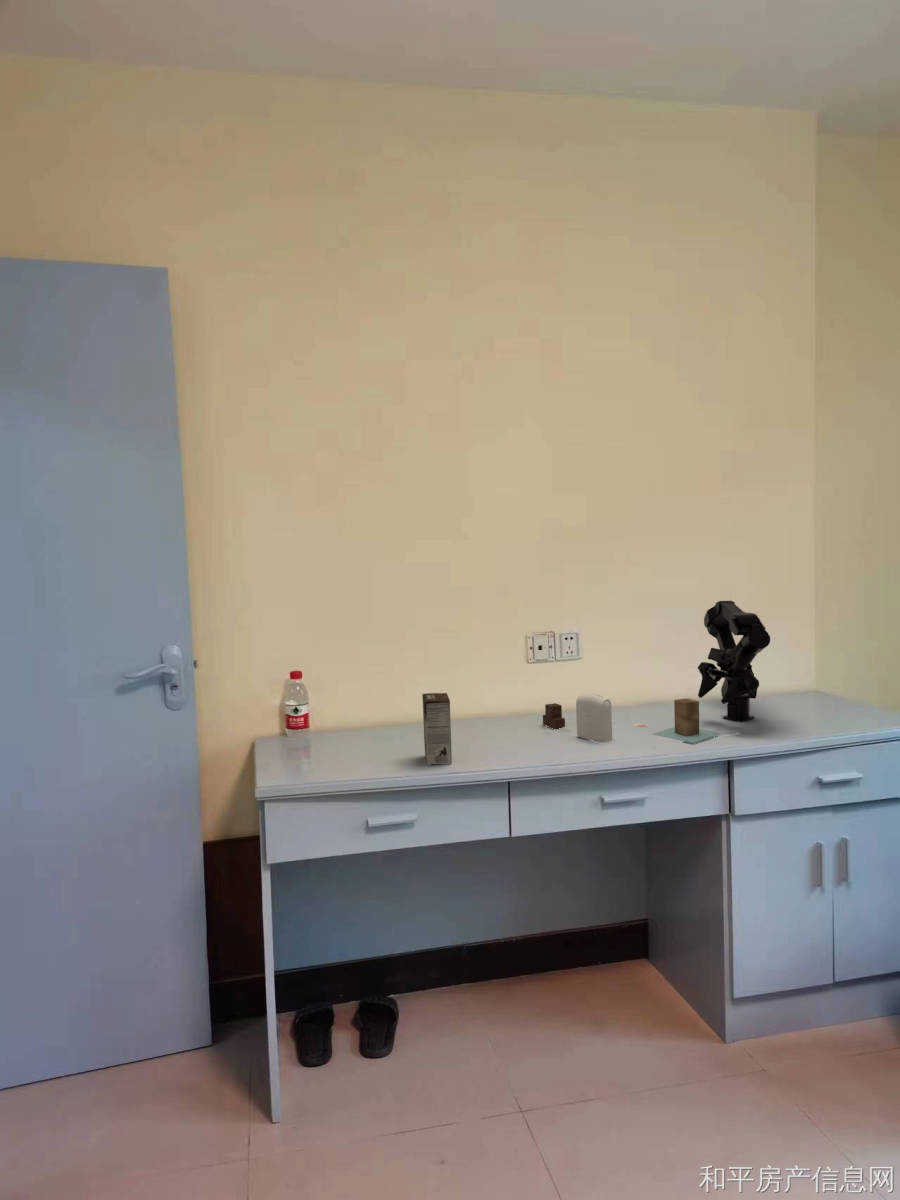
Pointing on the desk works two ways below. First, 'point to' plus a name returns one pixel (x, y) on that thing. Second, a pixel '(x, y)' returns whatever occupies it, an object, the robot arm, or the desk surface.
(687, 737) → the teal pad
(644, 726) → the tile
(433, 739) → the coffee box
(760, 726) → the desk surface
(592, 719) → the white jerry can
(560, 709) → the stack of crates
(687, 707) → the walnut block
